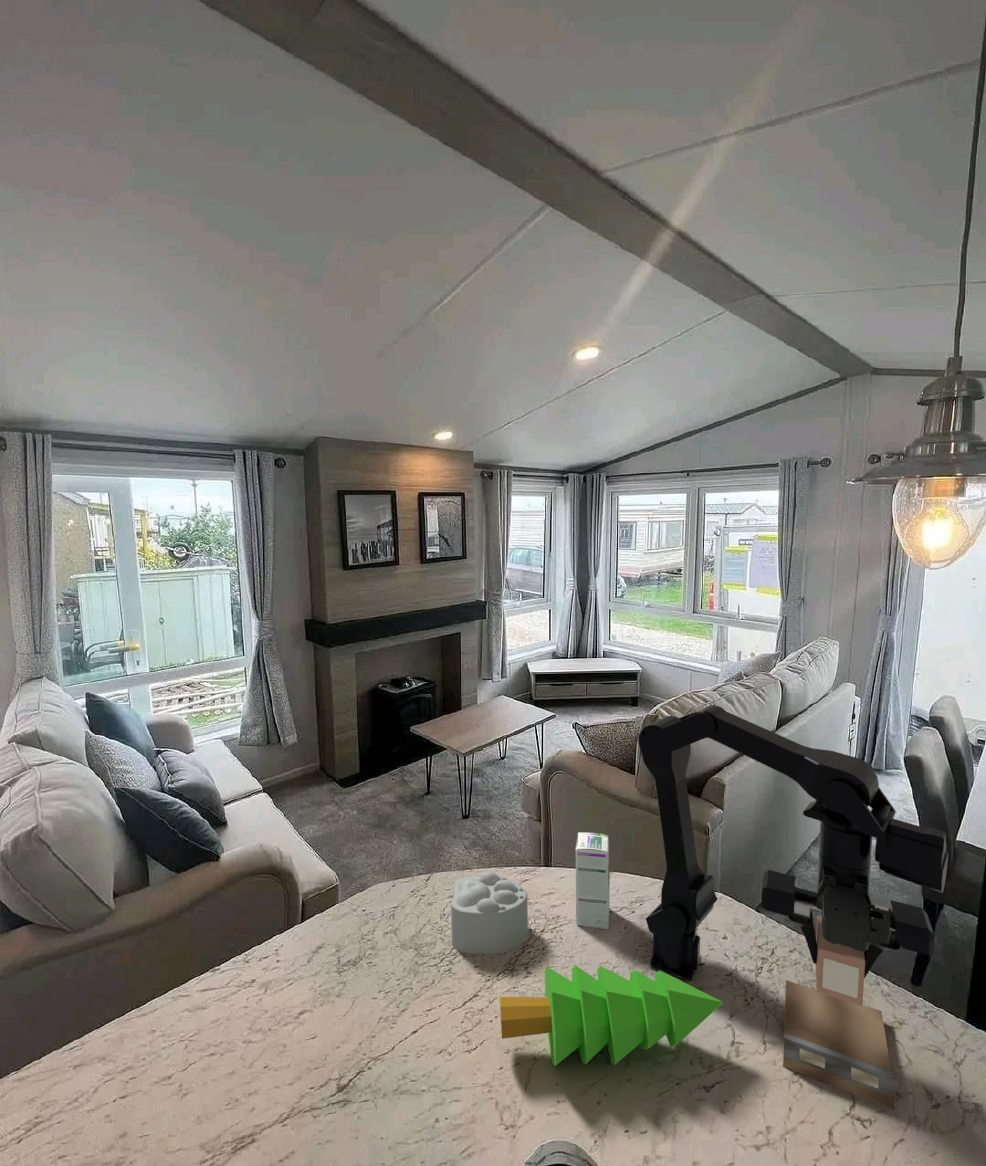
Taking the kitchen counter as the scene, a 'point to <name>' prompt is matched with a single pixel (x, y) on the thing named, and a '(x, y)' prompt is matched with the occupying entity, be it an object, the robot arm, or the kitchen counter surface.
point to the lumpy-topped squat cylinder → (488, 914)
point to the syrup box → (592, 880)
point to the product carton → (839, 969)
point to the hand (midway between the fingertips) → (838, 968)
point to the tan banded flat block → (838, 1044)
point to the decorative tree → (606, 1012)
